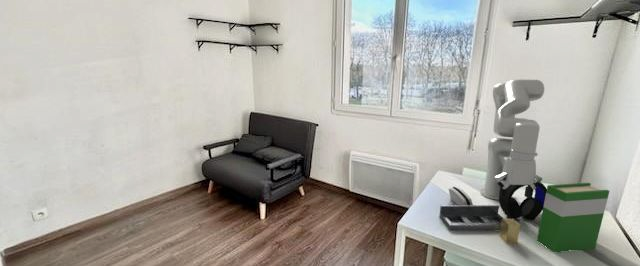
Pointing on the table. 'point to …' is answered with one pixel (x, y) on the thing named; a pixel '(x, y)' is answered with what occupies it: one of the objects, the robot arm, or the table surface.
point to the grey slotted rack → (471, 217)
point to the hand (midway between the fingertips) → (515, 197)
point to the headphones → (523, 203)
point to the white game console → (459, 196)
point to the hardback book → (572, 217)
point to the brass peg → (509, 230)
